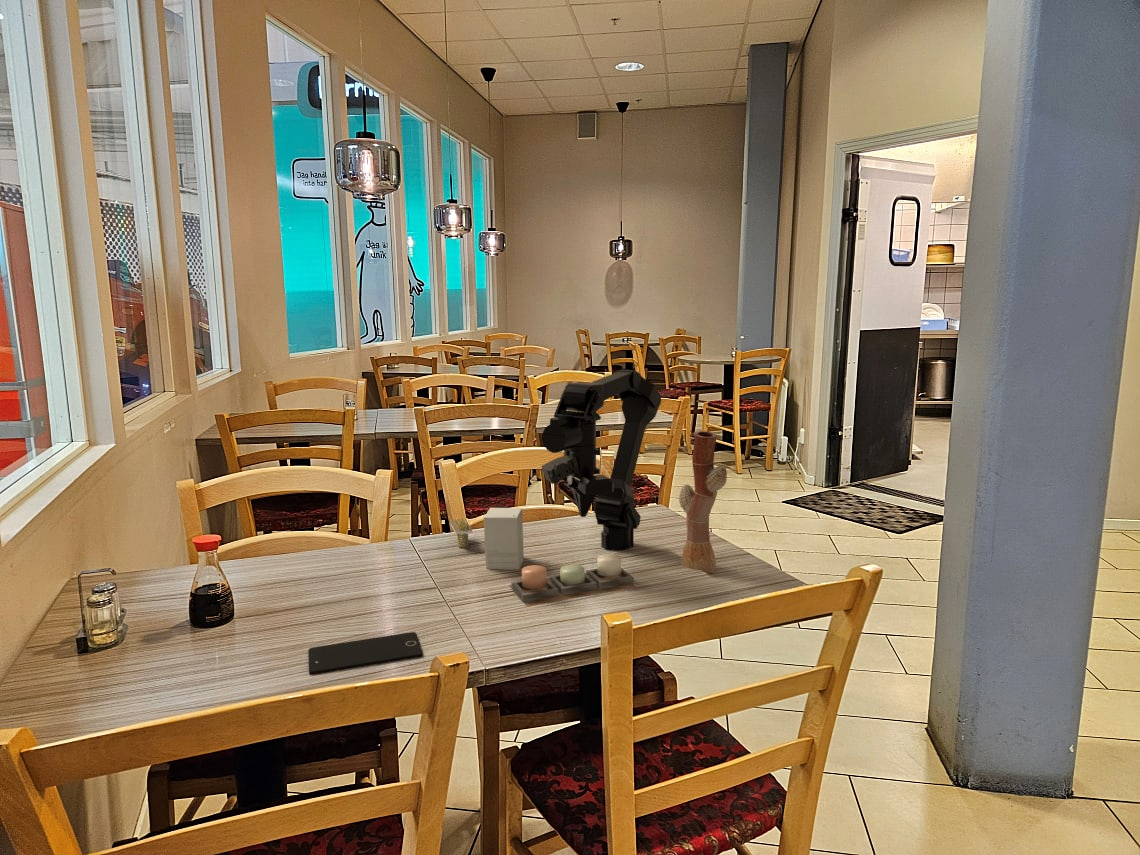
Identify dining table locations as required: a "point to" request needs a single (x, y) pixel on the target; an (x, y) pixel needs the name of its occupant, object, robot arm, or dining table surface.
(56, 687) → the dining table surface
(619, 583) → the brown compartment tray
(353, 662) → the cell phone
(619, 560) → the cream button
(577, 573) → the sage green rounded piece
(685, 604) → the dining table surface
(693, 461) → the vase
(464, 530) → the toothpick holder
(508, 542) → the supplement box
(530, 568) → the terracotta button
